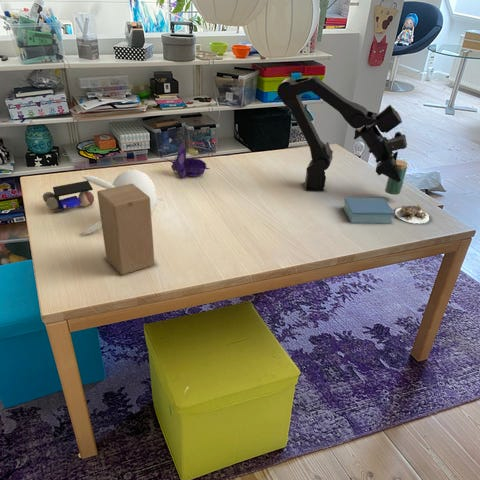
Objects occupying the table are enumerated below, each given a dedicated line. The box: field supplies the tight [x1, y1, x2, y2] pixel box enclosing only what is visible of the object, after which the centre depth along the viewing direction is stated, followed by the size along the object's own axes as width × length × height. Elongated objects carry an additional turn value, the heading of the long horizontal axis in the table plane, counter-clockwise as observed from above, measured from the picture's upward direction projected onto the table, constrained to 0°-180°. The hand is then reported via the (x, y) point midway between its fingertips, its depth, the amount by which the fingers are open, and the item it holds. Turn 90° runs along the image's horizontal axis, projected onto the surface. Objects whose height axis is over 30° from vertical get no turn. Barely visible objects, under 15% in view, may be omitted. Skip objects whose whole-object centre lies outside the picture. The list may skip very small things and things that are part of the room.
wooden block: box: [96, 184, 156, 276], centre depth 130 cm, size 10×10×20 cm
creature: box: [163, 139, 211, 179], centre depth 183 cm, size 9×18×12 cm, turn 108°
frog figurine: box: [394, 204, 430, 225], centre depth 166 cm, size 12×12×4 cm
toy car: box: [42, 180, 95, 213], centre depth 159 cm, size 7×8×15 cm
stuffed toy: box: [81, 169, 163, 236], centre depth 148 cm, size 19×14×25 cm
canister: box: [384, 159, 408, 196], centre depth 172 cm, size 5×5×10 cm
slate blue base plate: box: [343, 197, 395, 224], centre depth 165 cm, size 14×11×4 cm
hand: (400, 178), depth 172 cm, fingers closed on canister, 5 cm apart
